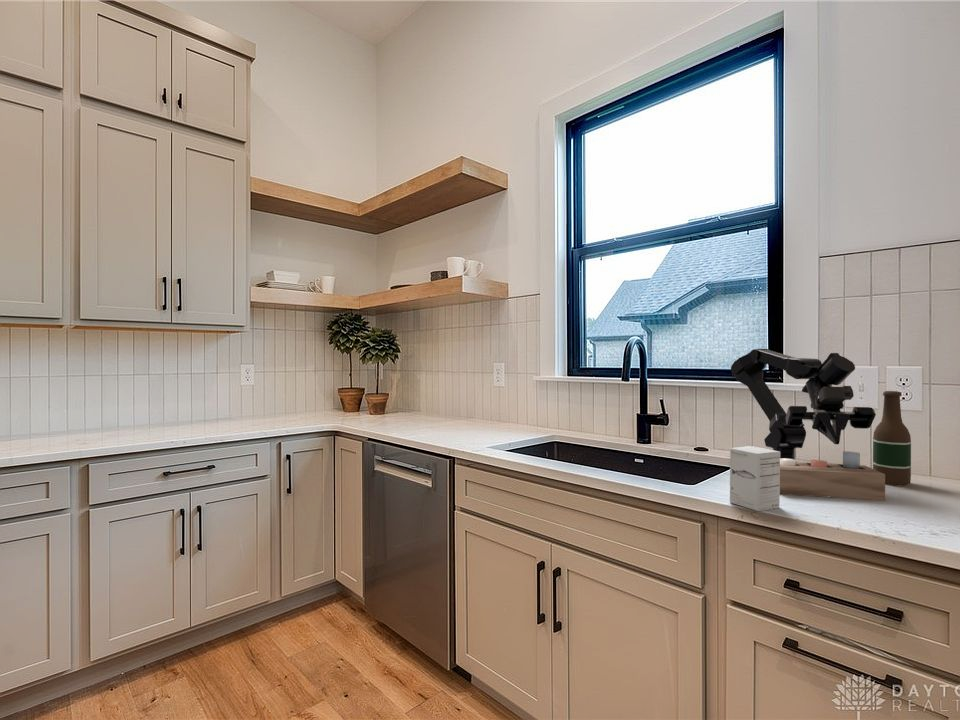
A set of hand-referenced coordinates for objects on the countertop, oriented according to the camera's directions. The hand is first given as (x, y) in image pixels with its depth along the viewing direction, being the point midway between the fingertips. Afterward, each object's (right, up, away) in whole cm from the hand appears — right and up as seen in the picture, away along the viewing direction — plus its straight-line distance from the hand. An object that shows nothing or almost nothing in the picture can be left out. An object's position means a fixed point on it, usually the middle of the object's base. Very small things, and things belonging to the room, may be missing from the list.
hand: (837, 443), depth 127 cm
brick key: (-4, -9, +1) cm, 10 cm away
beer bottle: (+20, -12, +8) cm, 25 cm away
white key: (-10, -9, +3) cm, 14 cm away
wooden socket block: (-4, -12, -1) cm, 12 cm away
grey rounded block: (+3, -6, 0) cm, 7 cm away
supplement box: (-27, -12, -12) cm, 32 cm away
